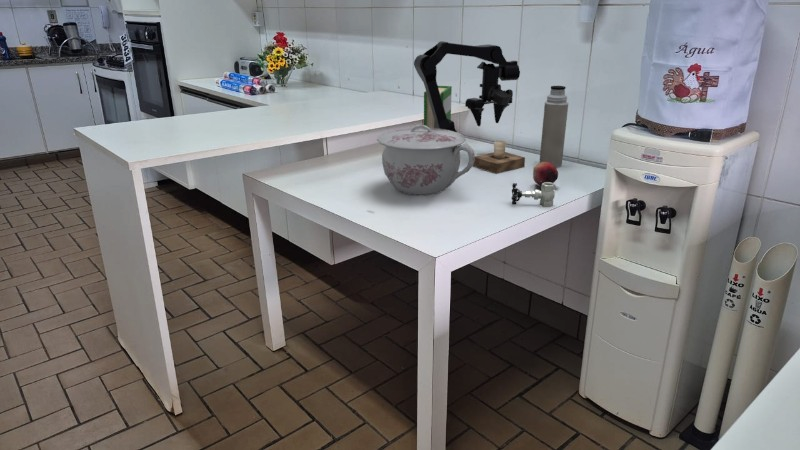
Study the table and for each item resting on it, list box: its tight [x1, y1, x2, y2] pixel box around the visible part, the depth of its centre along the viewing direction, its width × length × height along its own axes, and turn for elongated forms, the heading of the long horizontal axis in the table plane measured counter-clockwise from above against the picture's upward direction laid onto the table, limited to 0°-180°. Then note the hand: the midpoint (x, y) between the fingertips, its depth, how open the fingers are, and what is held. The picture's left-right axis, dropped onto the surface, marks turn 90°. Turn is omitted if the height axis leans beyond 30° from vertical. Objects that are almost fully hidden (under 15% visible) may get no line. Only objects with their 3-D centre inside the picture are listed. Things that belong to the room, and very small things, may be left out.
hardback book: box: [423, 85, 453, 128], centre depth 217 cm, size 18×7×24 cm, turn 165°
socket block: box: [472, 151, 526, 175], centre depth 198 cm, size 14×12×4 cm
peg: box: [493, 140, 507, 160], centre depth 197 cm, size 4×4×9 cm
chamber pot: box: [376, 124, 476, 196], centre depth 172 cm, size 28×28×21 cm
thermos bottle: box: [538, 85, 569, 168], centre depth 195 cm, size 8×8×28 cm
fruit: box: [532, 162, 559, 188], centre depth 175 cm, size 8×8×8 cm
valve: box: [511, 182, 556, 208], centre depth 160 cm, size 7×7×12 cm
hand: (488, 124), depth 204 cm, fingers open, 9 cm apart
